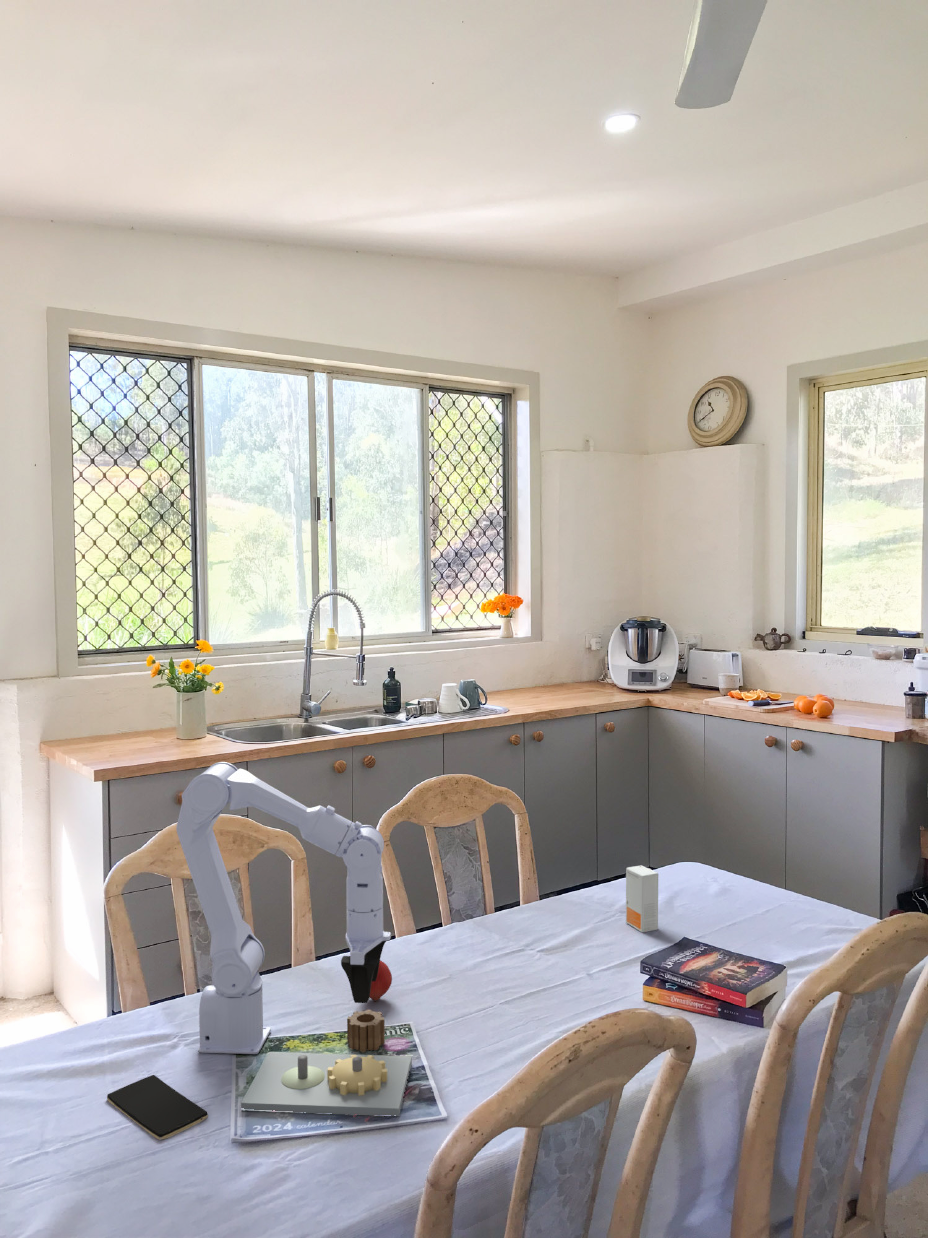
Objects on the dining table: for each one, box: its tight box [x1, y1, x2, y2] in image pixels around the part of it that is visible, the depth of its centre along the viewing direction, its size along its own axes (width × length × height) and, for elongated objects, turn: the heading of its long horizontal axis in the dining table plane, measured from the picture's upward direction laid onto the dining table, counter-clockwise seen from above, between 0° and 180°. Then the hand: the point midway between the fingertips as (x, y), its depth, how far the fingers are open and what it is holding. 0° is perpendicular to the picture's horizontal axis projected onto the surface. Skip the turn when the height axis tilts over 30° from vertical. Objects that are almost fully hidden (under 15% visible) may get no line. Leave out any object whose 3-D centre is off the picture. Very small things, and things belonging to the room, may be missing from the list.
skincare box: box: [625, 864, 659, 933], centre depth 200 cm, size 6×4×12 cm
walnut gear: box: [346, 1009, 386, 1053], centre depth 152 cm, size 6×6×4 cm
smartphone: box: [106, 1074, 209, 1141], centre depth 134 cm, size 7×1×15 cm
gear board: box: [240, 1051, 413, 1117], centre depth 139 cm, size 22×14×4 cm, turn 86°
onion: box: [369, 959, 393, 1002], centre depth 167 cm, size 6×6×8 cm
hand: (365, 991), depth 152 cm, fingers open, 7 cm apart
